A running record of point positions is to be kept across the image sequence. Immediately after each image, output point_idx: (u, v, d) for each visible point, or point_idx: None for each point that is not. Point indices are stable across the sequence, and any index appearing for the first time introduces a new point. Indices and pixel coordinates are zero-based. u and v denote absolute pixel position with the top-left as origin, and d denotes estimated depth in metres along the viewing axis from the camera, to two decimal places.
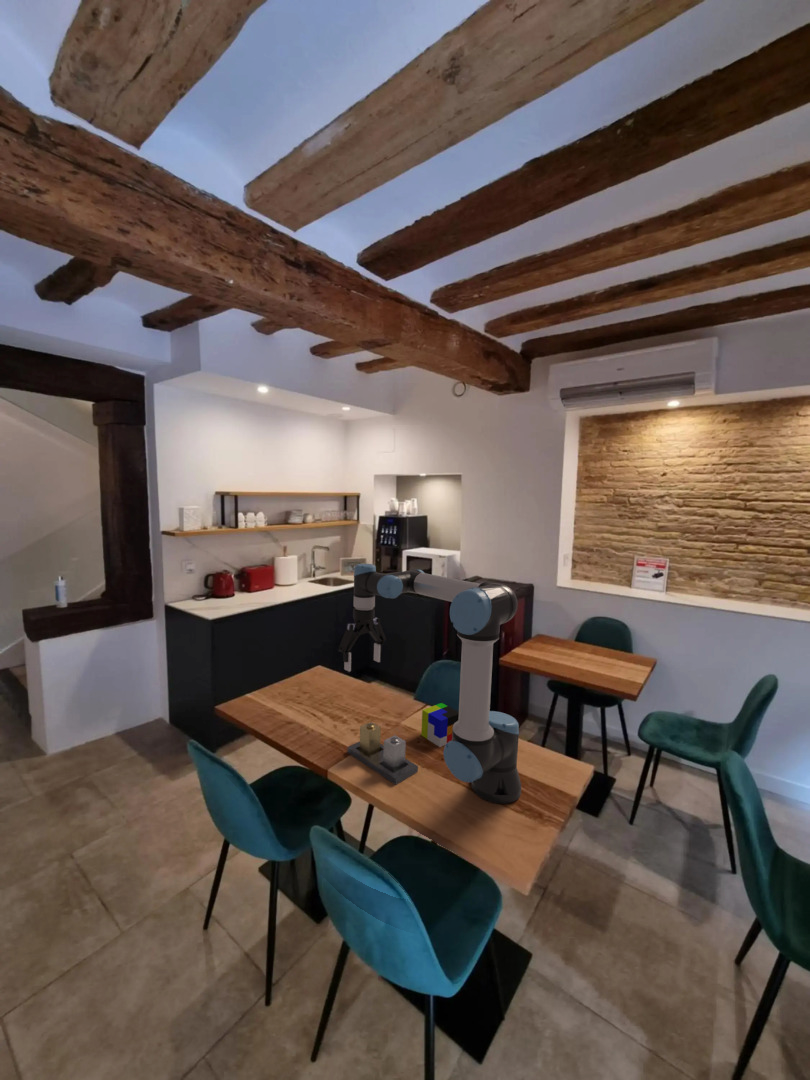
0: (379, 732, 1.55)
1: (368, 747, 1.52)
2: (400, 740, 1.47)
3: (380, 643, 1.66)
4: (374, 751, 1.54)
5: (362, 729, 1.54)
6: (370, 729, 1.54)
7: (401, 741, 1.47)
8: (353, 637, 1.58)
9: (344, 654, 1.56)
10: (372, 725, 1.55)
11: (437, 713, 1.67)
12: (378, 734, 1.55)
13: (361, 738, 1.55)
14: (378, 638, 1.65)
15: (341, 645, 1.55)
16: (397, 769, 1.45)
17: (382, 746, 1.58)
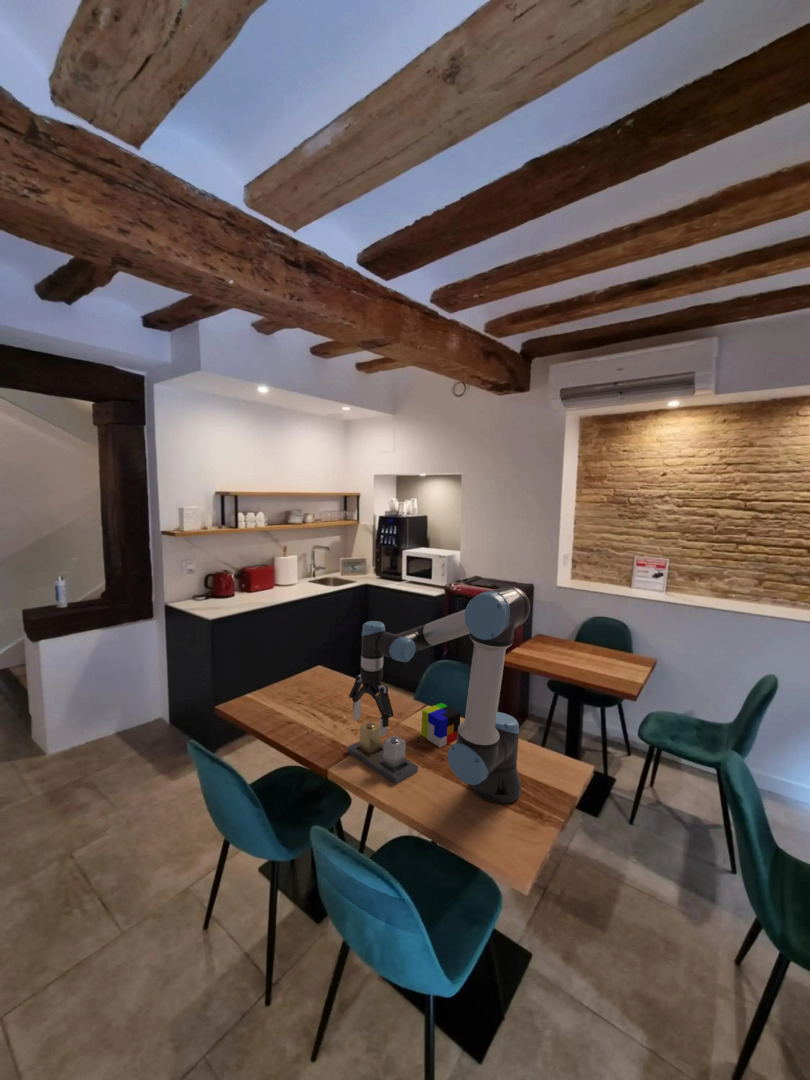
0: None
1: (368, 747, 1.52)
2: (400, 740, 1.47)
3: (382, 716, 1.49)
4: (374, 752, 1.54)
5: (362, 729, 1.54)
6: (370, 729, 1.54)
7: (401, 741, 1.47)
8: None
9: None
10: (372, 725, 1.55)
11: (437, 713, 1.67)
12: (378, 734, 1.55)
13: (361, 738, 1.55)
14: (380, 709, 1.49)
15: None
16: (397, 769, 1.45)
17: (382, 746, 1.58)
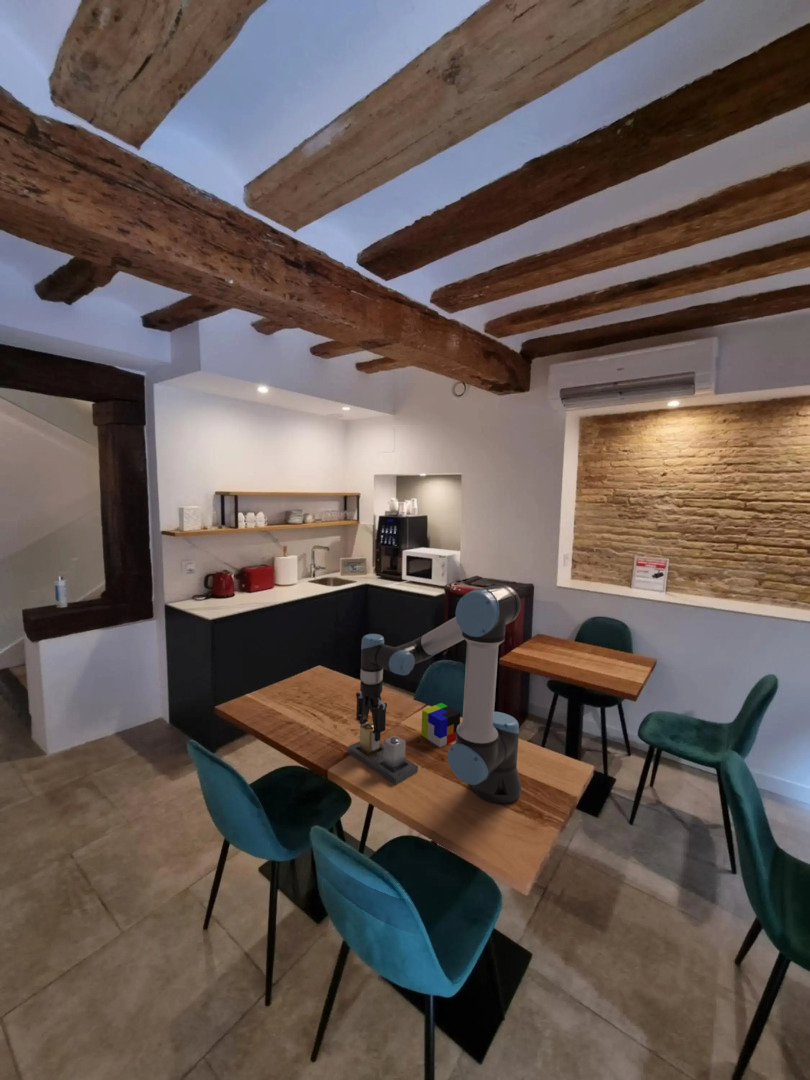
0: None
1: (368, 747, 1.52)
2: (400, 740, 1.47)
3: (374, 730, 1.52)
4: (374, 751, 1.54)
5: (362, 729, 1.54)
6: (370, 728, 1.54)
7: (401, 741, 1.47)
8: None
9: None
10: (372, 725, 1.55)
11: (437, 713, 1.67)
12: None
13: (361, 738, 1.55)
14: (374, 723, 1.52)
15: None
16: (397, 769, 1.45)
17: (382, 746, 1.58)
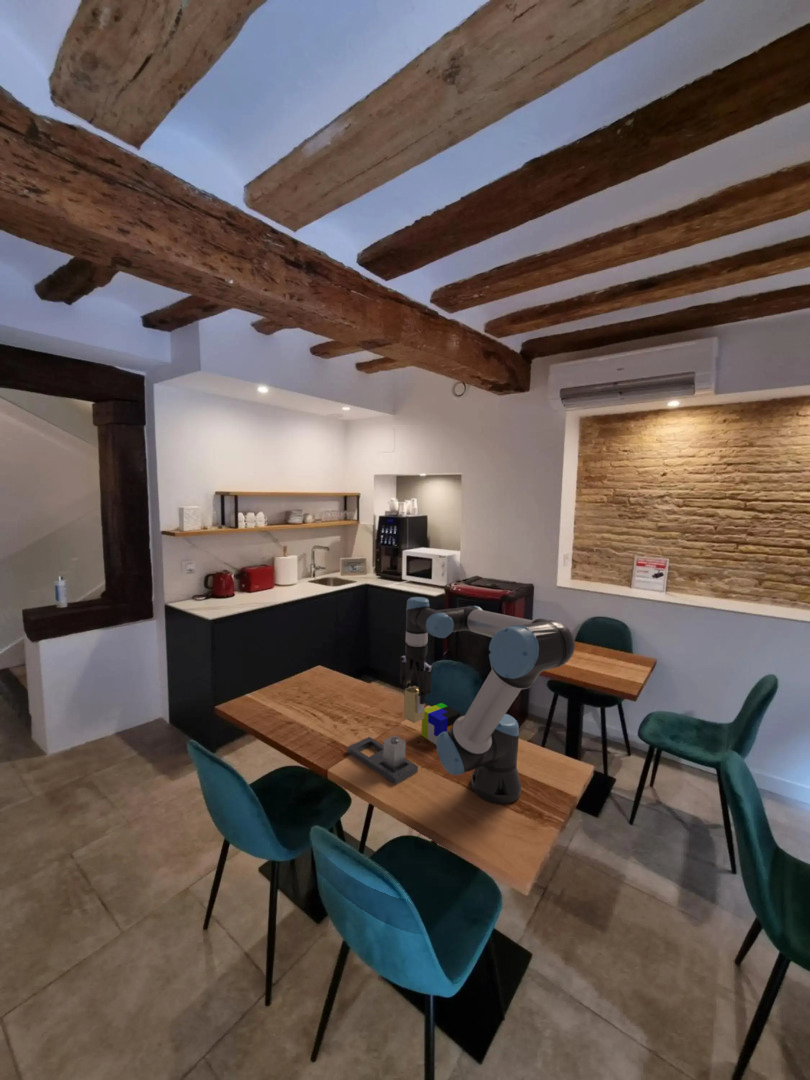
0: None
1: (414, 710, 1.52)
2: (400, 740, 1.47)
3: (419, 693, 1.52)
4: (419, 715, 1.54)
5: (407, 692, 1.54)
6: (415, 691, 1.53)
7: (401, 741, 1.47)
8: None
9: None
10: (417, 688, 1.55)
11: (437, 713, 1.67)
12: None
13: (406, 701, 1.55)
14: (419, 686, 1.51)
15: None
16: (397, 769, 1.45)
17: (382, 746, 1.58)
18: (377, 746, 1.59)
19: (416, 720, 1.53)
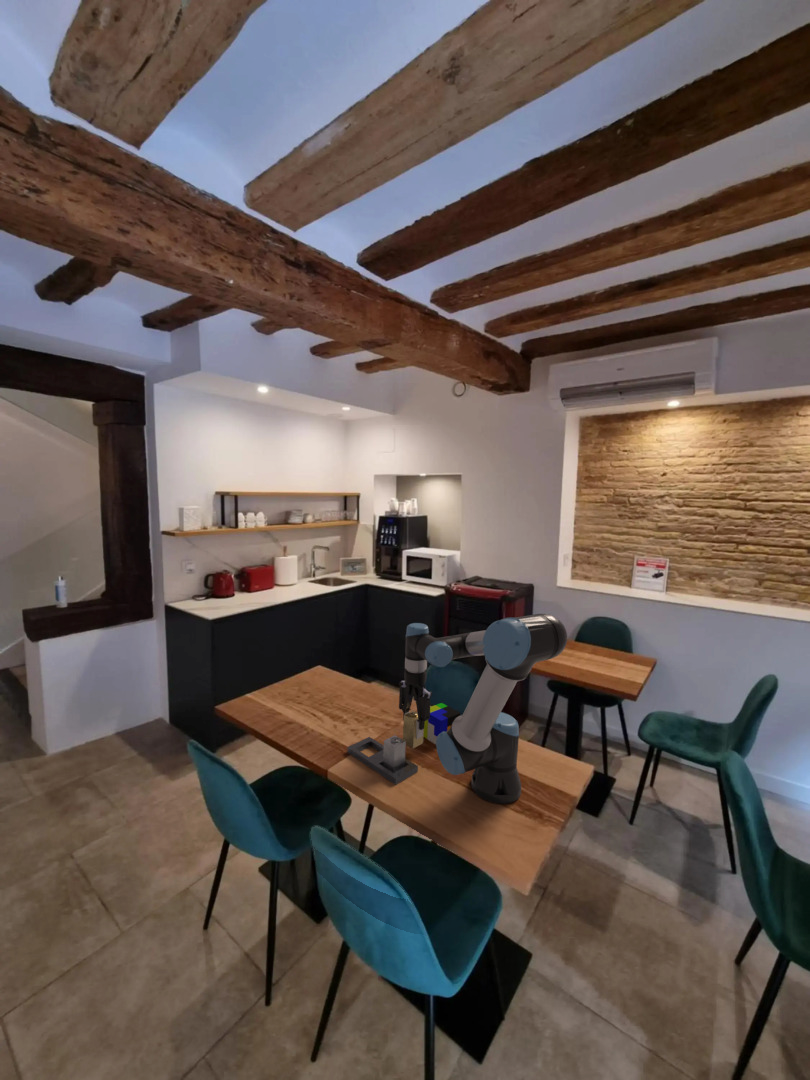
0: None
1: (413, 735, 1.53)
2: (400, 740, 1.47)
3: (418, 719, 1.53)
4: (418, 740, 1.55)
5: (406, 717, 1.55)
6: (414, 717, 1.54)
7: (401, 741, 1.47)
8: None
9: None
10: (416, 713, 1.56)
11: (437, 713, 1.67)
12: None
13: (405, 726, 1.56)
14: (418, 712, 1.52)
15: None
16: (397, 769, 1.45)
17: (382, 746, 1.58)
18: (377, 746, 1.59)
19: (415, 745, 1.54)
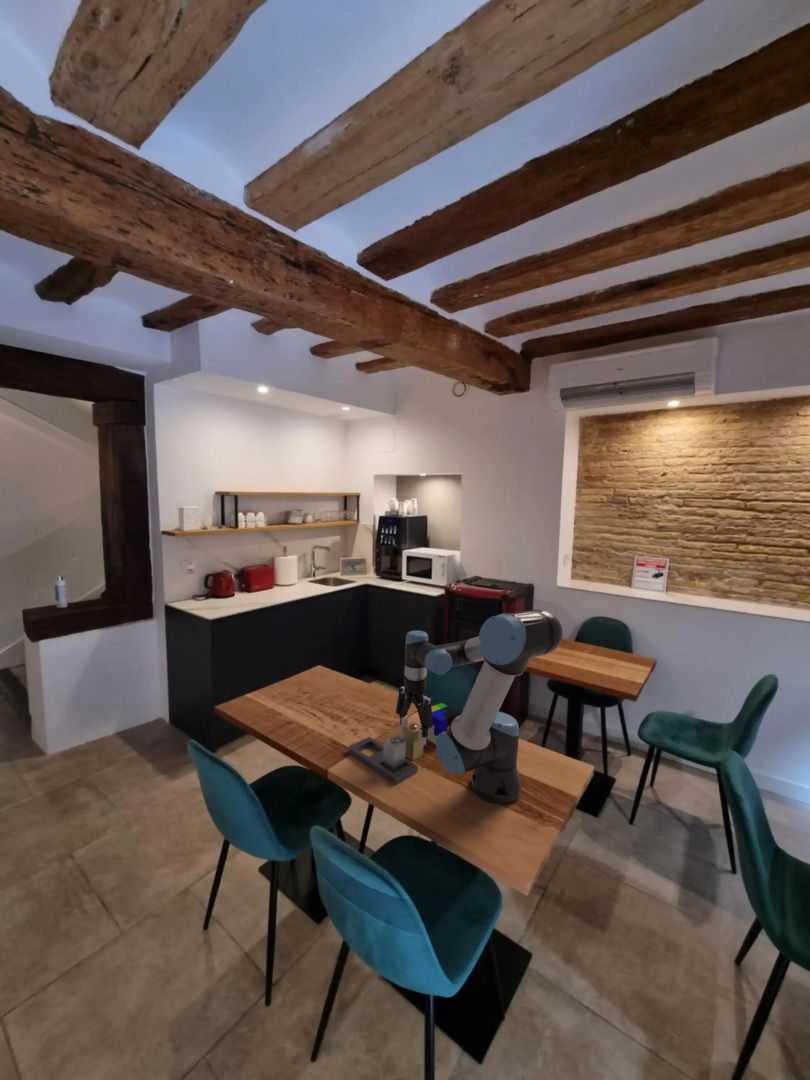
0: None
1: (413, 747, 1.53)
2: (400, 740, 1.47)
3: None
4: (418, 752, 1.55)
5: (406, 729, 1.55)
6: (414, 729, 1.55)
7: (401, 741, 1.47)
8: None
9: None
10: (415, 725, 1.56)
11: (437, 713, 1.67)
12: None
13: (405, 738, 1.56)
14: (421, 719, 1.52)
15: None
16: (397, 769, 1.45)
17: (382, 746, 1.58)
18: (377, 746, 1.59)
19: (415, 757, 1.54)
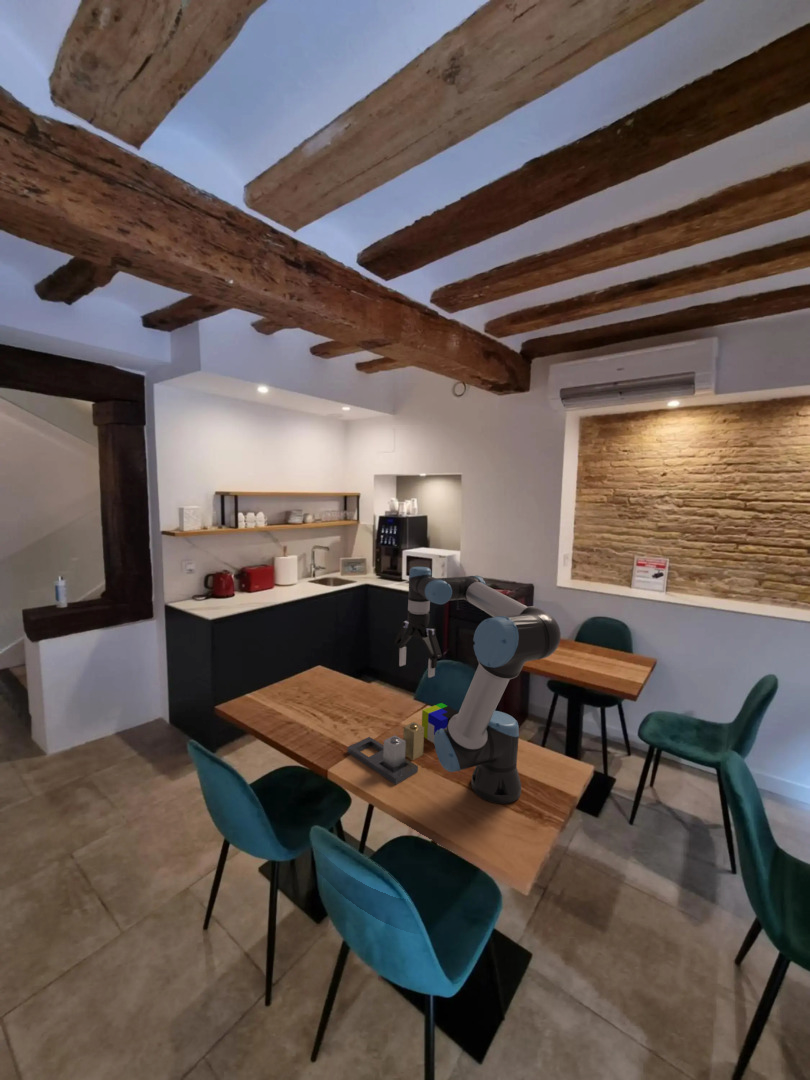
0: (423, 732, 1.56)
1: (413, 747, 1.53)
2: (400, 740, 1.47)
3: (430, 658, 1.53)
4: (418, 752, 1.55)
5: (406, 729, 1.55)
6: (414, 729, 1.55)
7: (401, 741, 1.47)
8: None
9: None
10: (415, 725, 1.56)
11: (437, 713, 1.67)
12: (422, 734, 1.56)
13: (405, 738, 1.56)
14: (428, 651, 1.53)
15: None
16: (397, 769, 1.45)
17: (382, 746, 1.58)
18: (377, 746, 1.59)
19: (415, 757, 1.54)
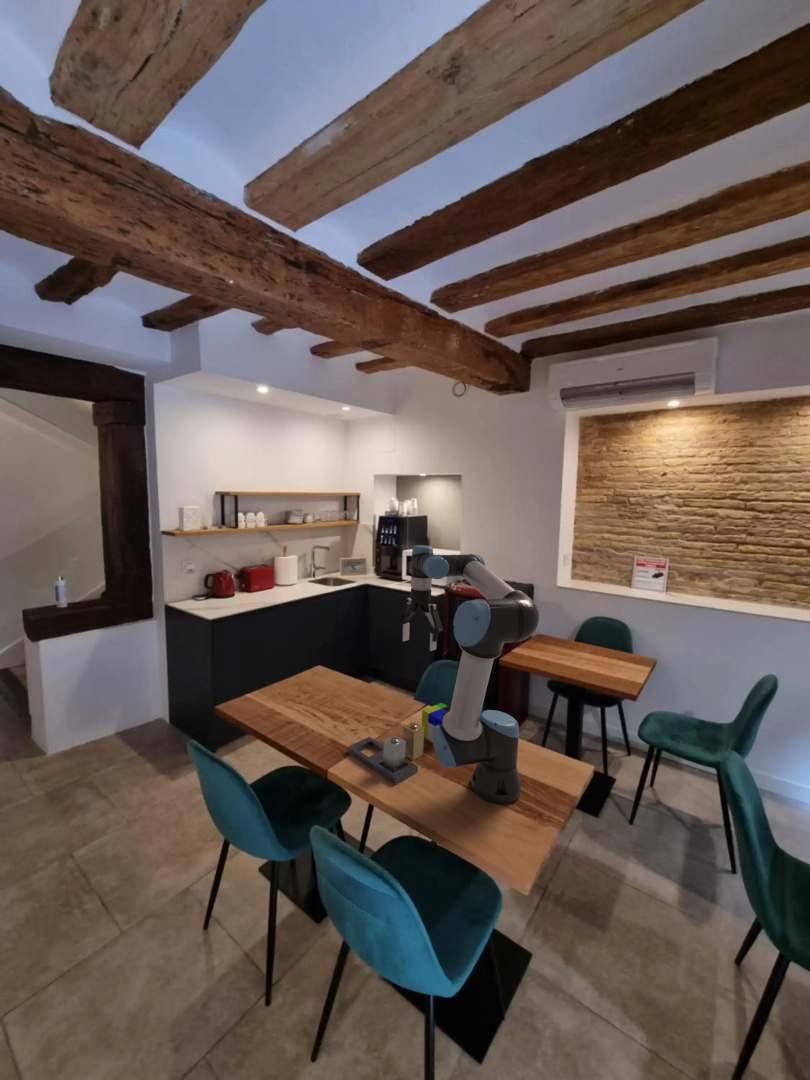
0: (423, 732, 1.56)
1: (413, 747, 1.53)
2: (400, 740, 1.47)
3: (432, 631, 1.60)
4: (418, 752, 1.55)
5: (406, 729, 1.55)
6: (414, 729, 1.55)
7: (401, 741, 1.47)
8: None
9: None
10: (415, 725, 1.56)
11: (437, 713, 1.67)
12: (422, 734, 1.56)
13: (405, 738, 1.56)
14: (430, 625, 1.60)
15: None
16: (397, 769, 1.45)
17: (382, 746, 1.58)
18: (377, 746, 1.59)
19: (415, 757, 1.54)
